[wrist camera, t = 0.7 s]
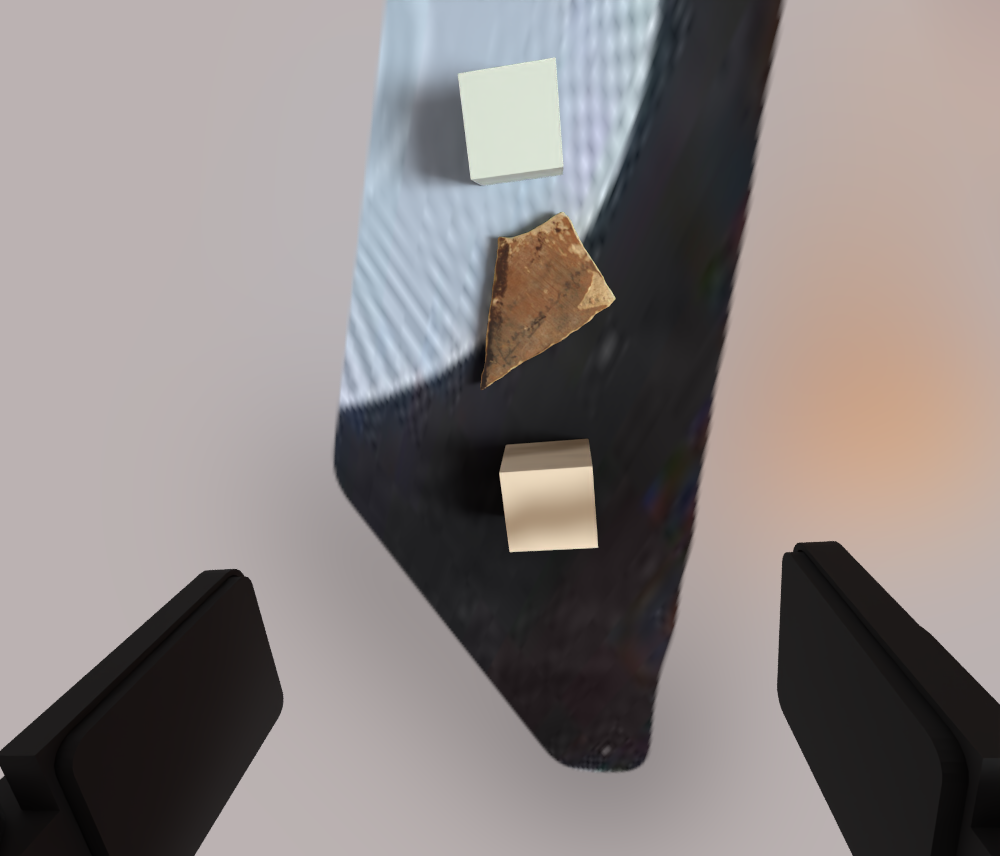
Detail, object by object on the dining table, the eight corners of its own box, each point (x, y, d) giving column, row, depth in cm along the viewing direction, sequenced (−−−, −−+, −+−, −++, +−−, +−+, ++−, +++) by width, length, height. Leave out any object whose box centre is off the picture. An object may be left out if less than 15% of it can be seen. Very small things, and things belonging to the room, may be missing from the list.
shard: (483, 384, 39) (480, 392, 38) (421, 293, 37) (414, 297, 36) (617, 300, 36) (620, 304, 35) (556, 197, 34) (556, 195, 33)
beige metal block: (505, 444, 40) (499, 472, 36) (588, 437, 39) (592, 466, 35) (514, 515, 42) (509, 551, 38) (593, 511, 41) (597, 547, 37)
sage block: (471, 95, 33) (457, 73, 28) (555, 82, 32) (555, 57, 27) (482, 186, 34) (470, 179, 30) (562, 174, 34) (563, 167, 29)
